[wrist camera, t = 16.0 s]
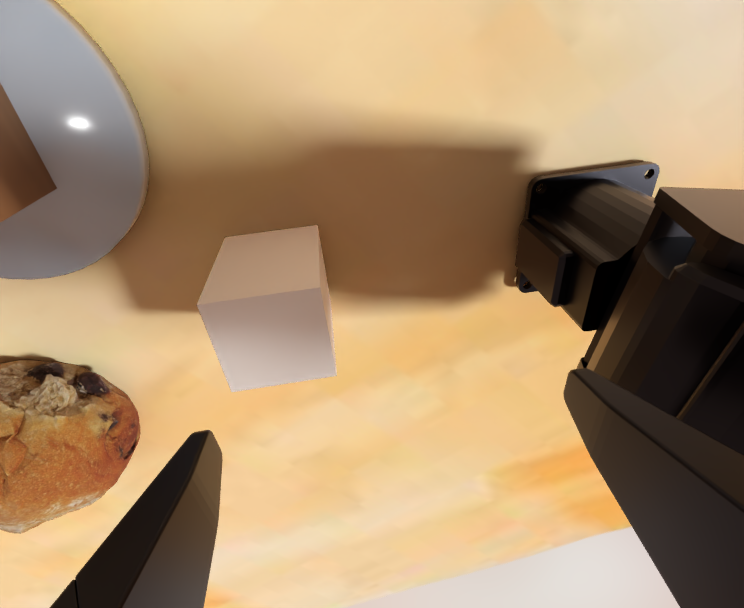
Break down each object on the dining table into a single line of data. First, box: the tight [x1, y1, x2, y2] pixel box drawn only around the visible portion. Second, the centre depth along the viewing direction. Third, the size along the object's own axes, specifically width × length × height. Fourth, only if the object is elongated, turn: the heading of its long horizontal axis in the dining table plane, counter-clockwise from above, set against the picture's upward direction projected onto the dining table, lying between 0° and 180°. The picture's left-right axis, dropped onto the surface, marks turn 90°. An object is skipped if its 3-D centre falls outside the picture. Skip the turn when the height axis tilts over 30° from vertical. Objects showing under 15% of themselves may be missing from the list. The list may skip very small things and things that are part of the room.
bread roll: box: [0, 360, 140, 534], centre depth 23 cm, size 10×10×8 cm
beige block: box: [197, 225, 337, 392], centre depth 19 cm, size 4×4×6 cm
